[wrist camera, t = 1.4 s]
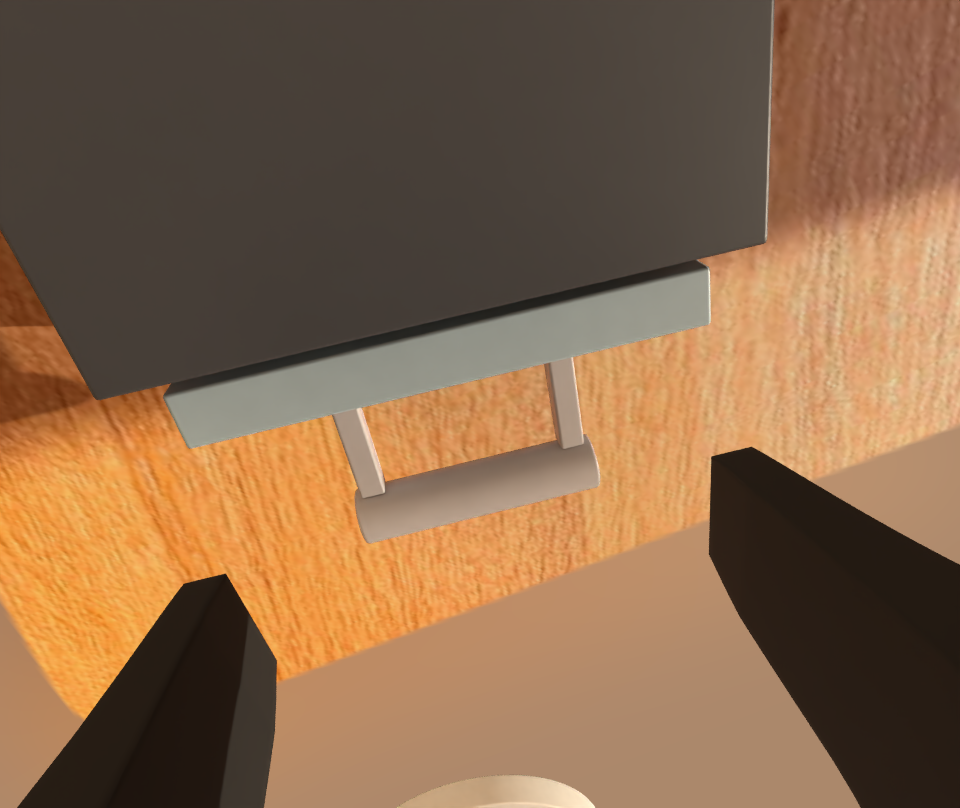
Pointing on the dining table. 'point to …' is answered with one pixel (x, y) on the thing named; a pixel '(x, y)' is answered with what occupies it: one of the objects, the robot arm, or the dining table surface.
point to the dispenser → (362, 163)
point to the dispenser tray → (443, 363)
